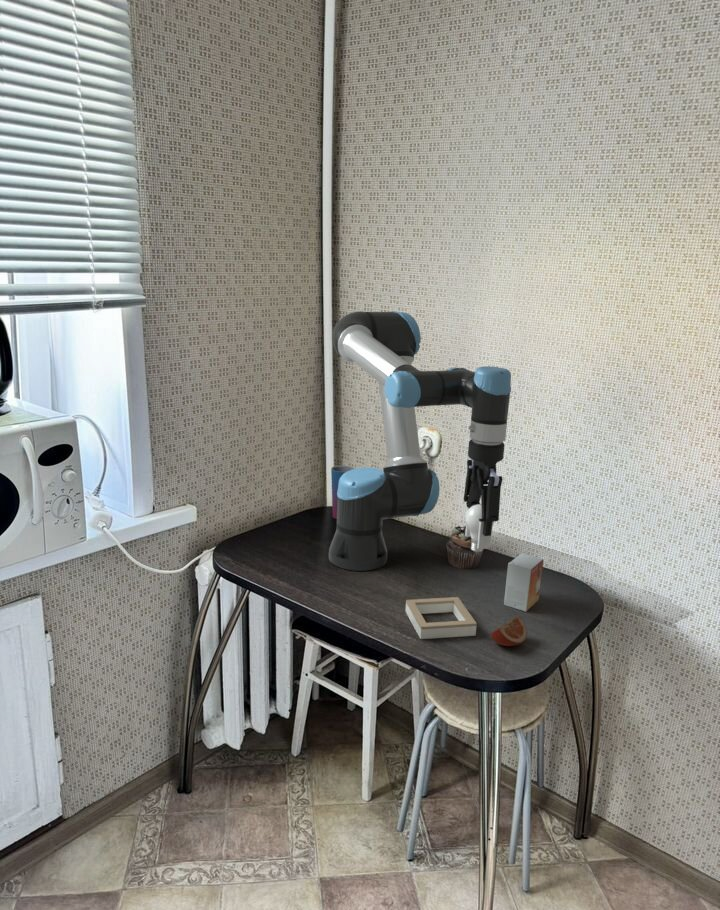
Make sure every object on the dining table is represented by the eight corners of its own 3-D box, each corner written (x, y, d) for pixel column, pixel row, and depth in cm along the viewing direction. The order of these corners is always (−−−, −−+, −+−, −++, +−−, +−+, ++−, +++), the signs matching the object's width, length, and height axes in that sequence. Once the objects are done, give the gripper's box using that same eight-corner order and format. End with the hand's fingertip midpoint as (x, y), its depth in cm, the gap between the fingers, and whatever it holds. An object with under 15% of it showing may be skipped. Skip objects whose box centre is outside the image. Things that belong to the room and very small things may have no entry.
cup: (330, 520, 210) (331, 471, 206) (329, 512, 217) (330, 465, 213) (353, 520, 211) (355, 472, 207) (351, 512, 217) (353, 465, 213)
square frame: (405, 611, 158) (406, 599, 157) (456, 608, 161) (457, 597, 160) (420, 639, 147) (421, 626, 146) (475, 635, 149) (476, 623, 149)
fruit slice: (505, 630, 152) (507, 609, 151) (532, 643, 148) (535, 621, 146) (482, 644, 146) (484, 622, 145) (511, 657, 142) (513, 635, 140)
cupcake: (489, 564, 185) (493, 528, 182) (464, 573, 179) (467, 536, 176) (462, 552, 192) (466, 517, 189) (437, 560, 186) (439, 524, 183)
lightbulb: (470, 543, 162) (475, 498, 160) (496, 551, 159) (500, 505, 156) (456, 552, 158) (460, 505, 155) (482, 560, 154) (487, 512, 151)
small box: (526, 612, 160) (531, 569, 157) (503, 605, 163) (507, 562, 160) (539, 600, 166) (544, 558, 164) (516, 593, 170) (521, 552, 167)
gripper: (454, 430, 159) (446, 526, 166) (488, 453, 141) (478, 560, 148) (485, 429, 161) (476, 525, 167) (523, 452, 143) (511, 558, 149)
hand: (477, 541), depth 158 cm, fingers closed on lightbulb, 6 cm apart
